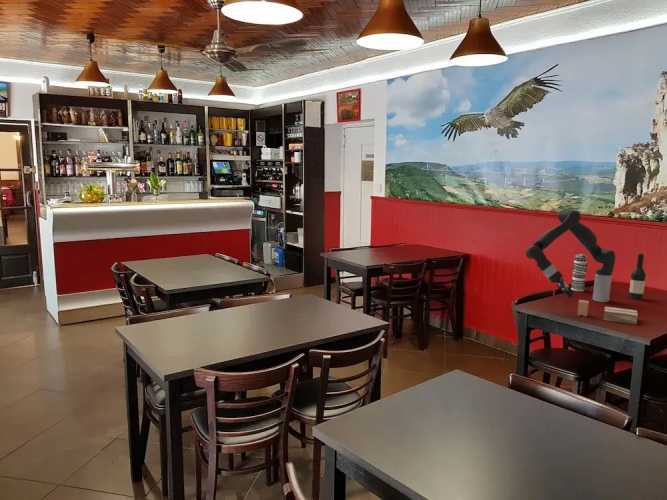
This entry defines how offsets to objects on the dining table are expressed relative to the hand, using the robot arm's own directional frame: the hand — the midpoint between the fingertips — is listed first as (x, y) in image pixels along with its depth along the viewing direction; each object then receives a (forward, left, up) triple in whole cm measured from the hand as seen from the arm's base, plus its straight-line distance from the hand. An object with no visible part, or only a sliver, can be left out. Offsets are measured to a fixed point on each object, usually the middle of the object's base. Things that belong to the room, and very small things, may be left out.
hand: (571, 295), depth 298 cm
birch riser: (-1, +25, -11) cm, 28 cm away
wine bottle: (-63, +34, -11) cm, 72 cm away
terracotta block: (0, +6, -11) cm, 12 cm away
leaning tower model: (-68, -1, -11) cm, 69 cm away
